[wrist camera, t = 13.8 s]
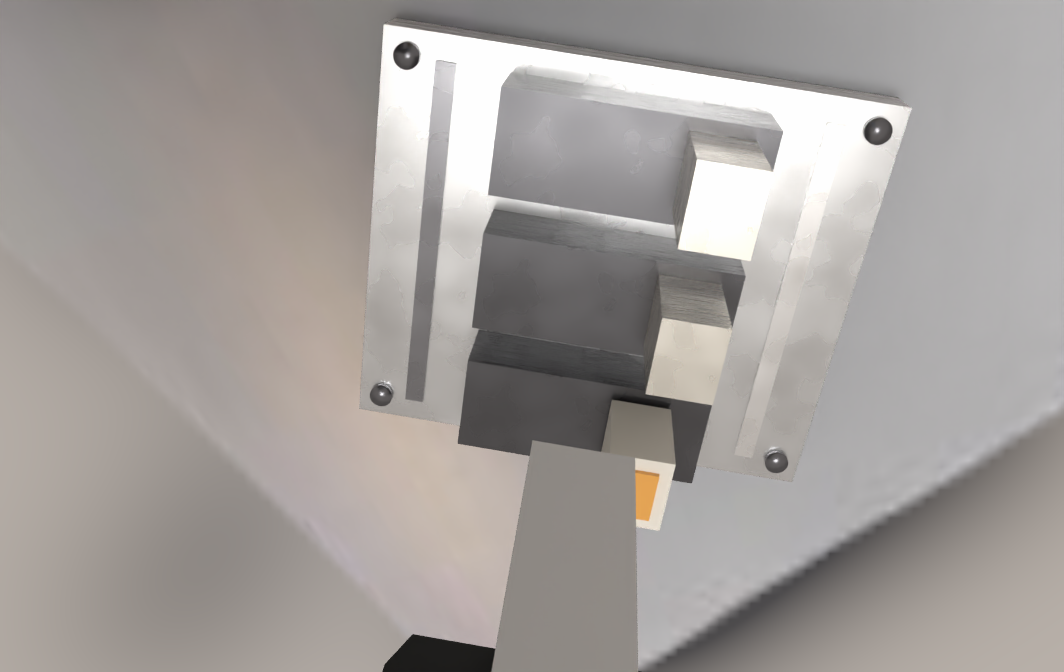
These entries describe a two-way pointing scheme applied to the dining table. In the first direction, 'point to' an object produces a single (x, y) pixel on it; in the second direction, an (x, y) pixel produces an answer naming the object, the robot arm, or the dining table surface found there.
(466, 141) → the panel
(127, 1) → the dining table surface
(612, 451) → the block with orange pad
